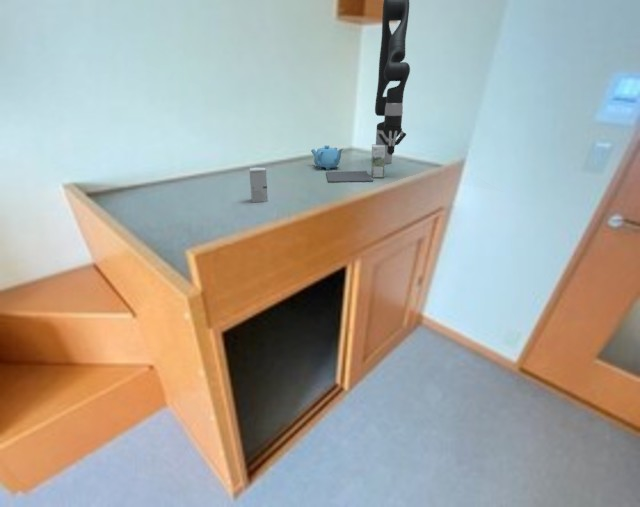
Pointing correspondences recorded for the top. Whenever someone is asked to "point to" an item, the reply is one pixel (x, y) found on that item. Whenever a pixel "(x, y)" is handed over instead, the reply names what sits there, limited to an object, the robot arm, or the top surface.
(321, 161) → the teapot
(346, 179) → the mat
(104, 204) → the top surface
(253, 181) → the skincare box
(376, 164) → the syrup box
